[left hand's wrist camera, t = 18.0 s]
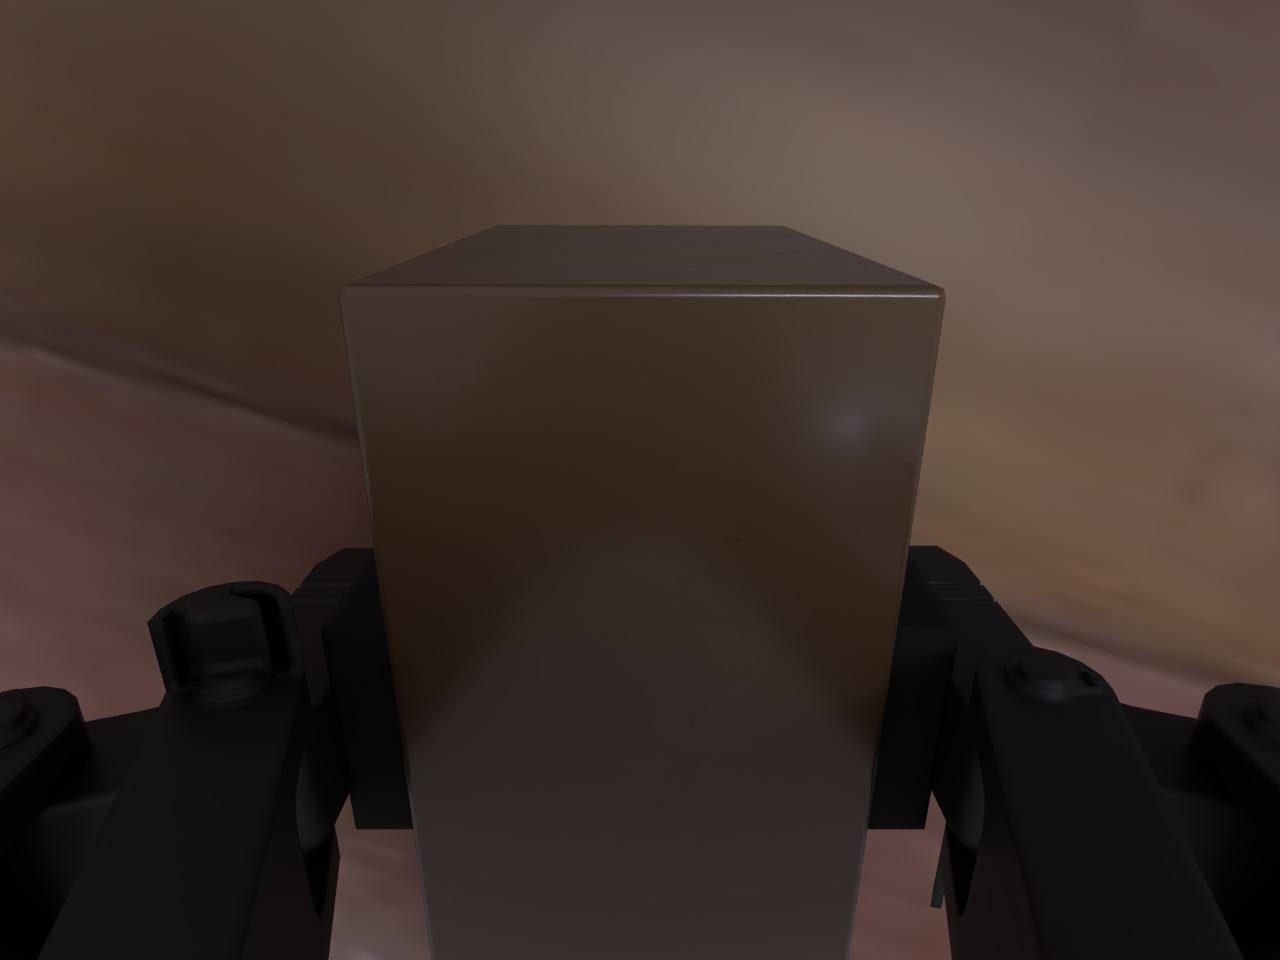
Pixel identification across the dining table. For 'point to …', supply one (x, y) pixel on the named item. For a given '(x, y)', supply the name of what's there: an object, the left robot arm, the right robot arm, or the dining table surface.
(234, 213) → the dining table surface
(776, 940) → the post
